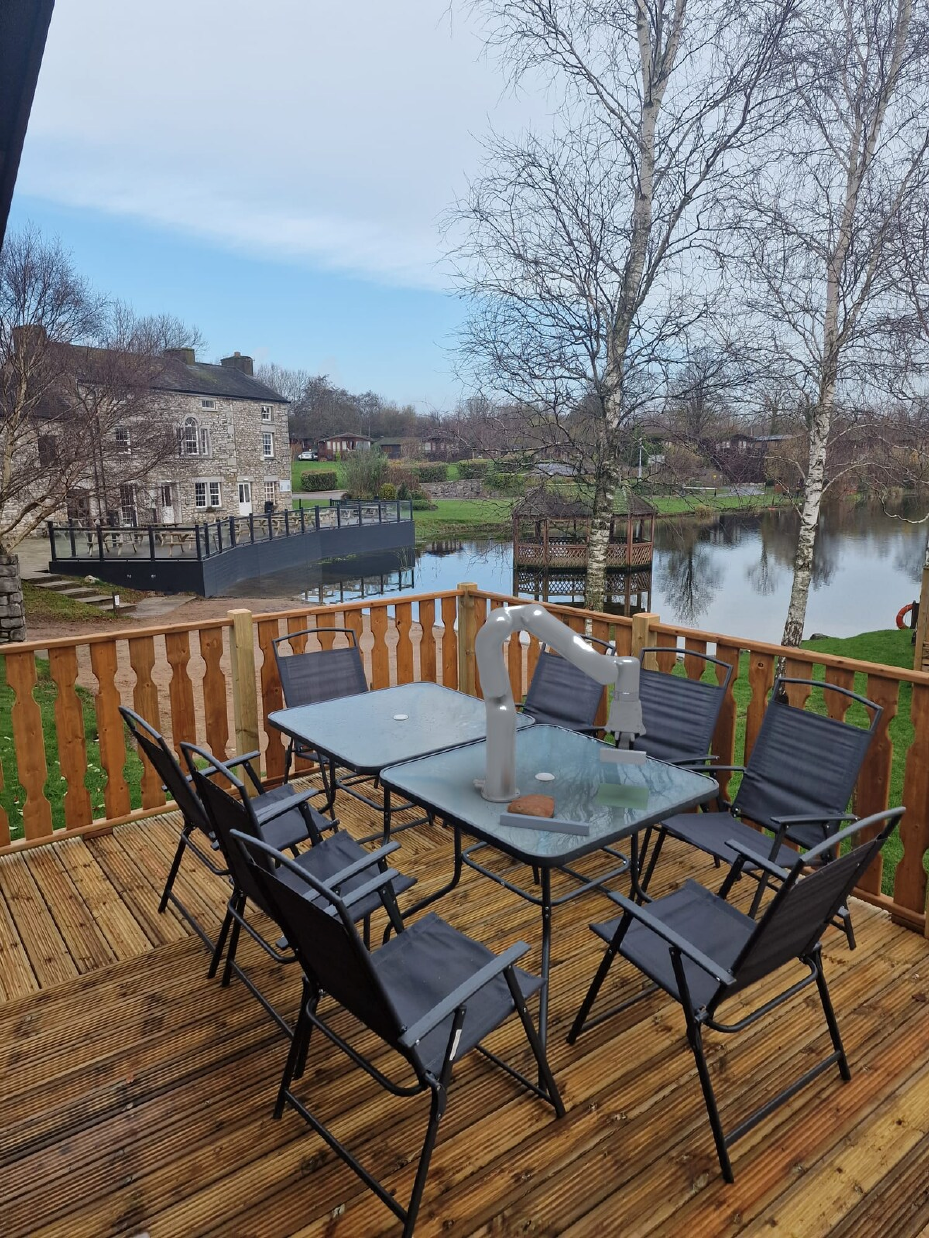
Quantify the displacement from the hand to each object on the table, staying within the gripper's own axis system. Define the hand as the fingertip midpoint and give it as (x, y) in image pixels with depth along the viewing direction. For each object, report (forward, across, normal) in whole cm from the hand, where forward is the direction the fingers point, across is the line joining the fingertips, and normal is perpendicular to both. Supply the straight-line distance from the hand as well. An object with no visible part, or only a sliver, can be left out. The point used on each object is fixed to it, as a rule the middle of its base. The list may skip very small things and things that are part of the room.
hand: (624, 750), depth 242 cm
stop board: (+15, -20, -31) cm, 40 cm away
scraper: (+2, 0, +1) cm, 2 cm away
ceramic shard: (+16, -23, -20) cm, 35 cm away
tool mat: (+15, 0, -1) cm, 15 cm away
